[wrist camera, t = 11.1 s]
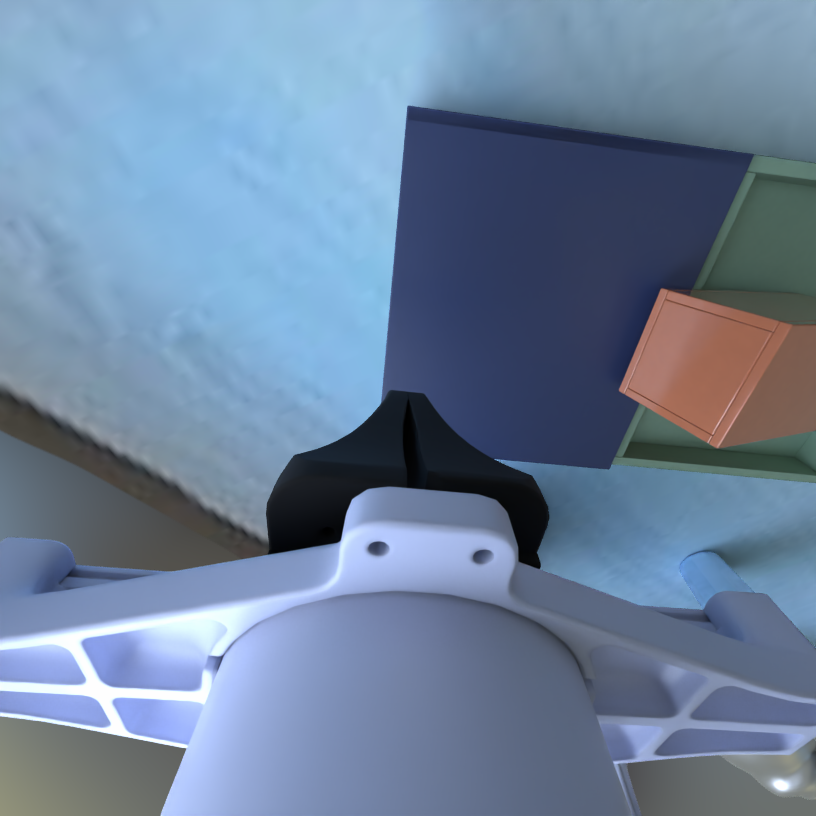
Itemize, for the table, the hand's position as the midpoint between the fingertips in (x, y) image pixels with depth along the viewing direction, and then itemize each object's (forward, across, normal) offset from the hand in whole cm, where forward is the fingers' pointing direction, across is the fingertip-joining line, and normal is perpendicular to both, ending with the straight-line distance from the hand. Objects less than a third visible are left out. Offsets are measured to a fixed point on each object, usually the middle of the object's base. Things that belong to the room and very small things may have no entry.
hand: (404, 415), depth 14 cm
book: (+9, -6, -2) cm, 11 cm away
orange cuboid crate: (+7, -16, -2) cm, 17 cm away
